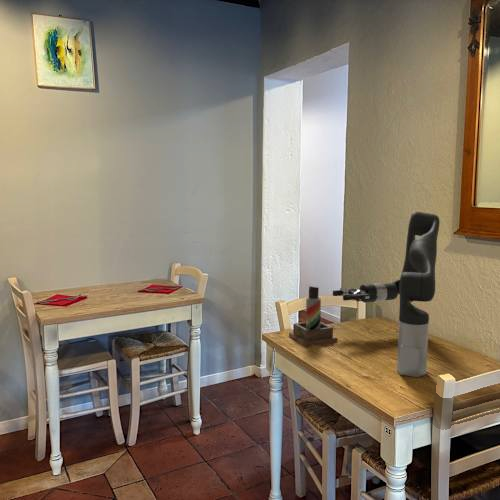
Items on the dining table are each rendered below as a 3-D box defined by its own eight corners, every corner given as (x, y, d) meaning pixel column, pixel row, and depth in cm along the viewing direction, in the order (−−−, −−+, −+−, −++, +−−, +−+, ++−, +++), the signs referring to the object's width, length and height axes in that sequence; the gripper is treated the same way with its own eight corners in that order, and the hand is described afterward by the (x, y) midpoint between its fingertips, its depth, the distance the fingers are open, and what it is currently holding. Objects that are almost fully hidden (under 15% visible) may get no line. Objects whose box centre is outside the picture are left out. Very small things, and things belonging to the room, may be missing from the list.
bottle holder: (337, 341, 191) (337, 328, 190) (306, 346, 185) (306, 332, 184) (318, 331, 203) (318, 319, 203) (289, 336, 198) (289, 323, 197)
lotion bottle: (303, 335, 194) (303, 286, 191) (311, 332, 198) (312, 284, 195) (314, 338, 190) (315, 288, 187) (323, 335, 194) (323, 286, 191)
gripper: (364, 280, 207) (330, 283, 202) (383, 287, 193) (347, 289, 188) (363, 298, 207) (329, 300, 202) (382, 305, 194) (346, 308, 189)
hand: (338, 295), depth 195 cm, fingers open, 8 cm apart
